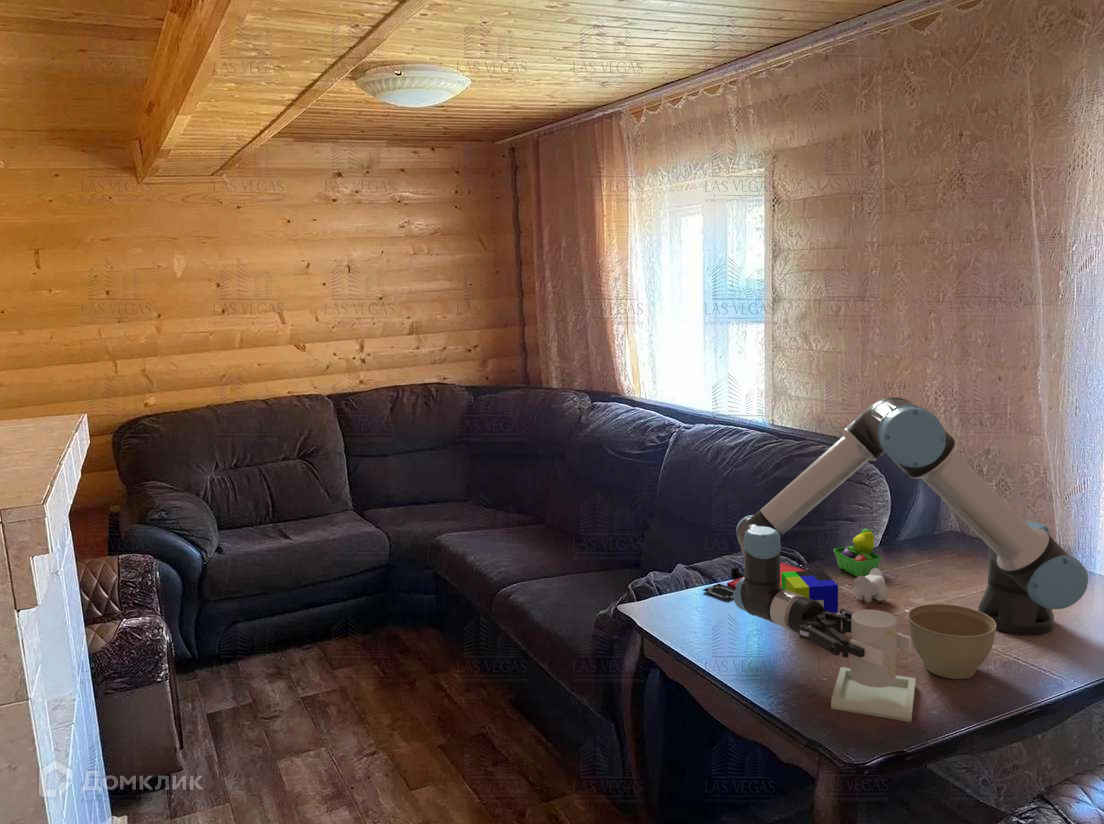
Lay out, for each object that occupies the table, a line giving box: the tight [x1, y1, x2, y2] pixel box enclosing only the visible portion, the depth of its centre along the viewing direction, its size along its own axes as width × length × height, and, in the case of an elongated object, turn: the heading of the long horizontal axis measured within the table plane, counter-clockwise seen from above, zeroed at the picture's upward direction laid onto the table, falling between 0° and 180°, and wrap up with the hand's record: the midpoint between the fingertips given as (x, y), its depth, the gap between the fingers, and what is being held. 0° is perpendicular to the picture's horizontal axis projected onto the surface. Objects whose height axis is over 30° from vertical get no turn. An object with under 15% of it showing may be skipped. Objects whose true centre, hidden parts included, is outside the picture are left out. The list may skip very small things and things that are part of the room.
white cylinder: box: [850, 609, 898, 688], centre depth 163 cm, size 8×8×12 cm
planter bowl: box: [907, 603, 997, 680], centre depth 173 cm, size 16×16×11 cm
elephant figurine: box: [853, 568, 894, 603], centre depth 209 cm, size 8×10×7 cm
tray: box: [830, 666, 917, 723], centre depth 164 cm, size 14×14×2 cm
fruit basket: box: [833, 528, 882, 578], centre depth 228 cm, size 11×9×11 cm
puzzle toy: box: [781, 569, 839, 614], centre depth 200 cm, size 10×10×10 cm
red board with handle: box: [702, 561, 808, 600], centre depth 224 cm, size 30×3×15 cm
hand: (896, 651), depth 159 cm, fingers closed on white cylinder, 8 cm apart
